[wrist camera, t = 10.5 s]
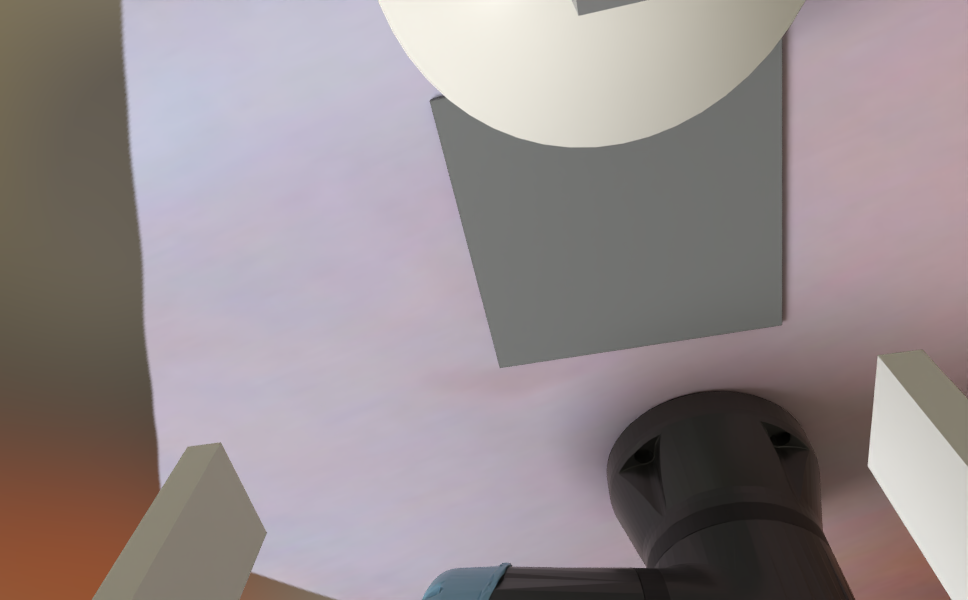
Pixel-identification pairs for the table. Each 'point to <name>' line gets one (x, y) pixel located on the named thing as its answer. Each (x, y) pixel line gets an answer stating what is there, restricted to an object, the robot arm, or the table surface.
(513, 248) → the mat
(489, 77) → the lid
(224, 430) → the table surface
